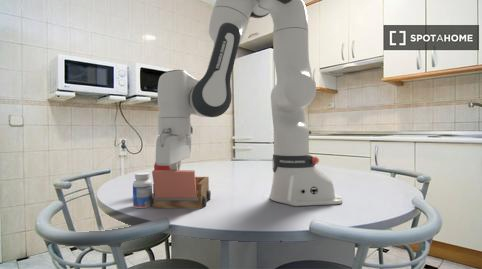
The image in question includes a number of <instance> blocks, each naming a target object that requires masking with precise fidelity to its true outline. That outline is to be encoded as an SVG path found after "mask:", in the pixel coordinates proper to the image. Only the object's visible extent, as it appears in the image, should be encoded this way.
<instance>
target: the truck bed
mask: <svg viewBox="0 0 482 269" xmlns="http://www.w3.org/2000/svg"><path fill="white" fill-rule="evenodd" d="M195 180H196V192H197V196H198V201H155V200H154V197H155V190H154V183H152V206H153V209H202V208H203V207H206V206H207V203H208V201H210V200H211V197H212V196H211V195H212V193H211V190H210V189H209V188H210V187H209V186H210V185H209V182H210V180H209V176H195Z"/></svg>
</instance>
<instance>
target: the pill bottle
mask: <svg viewBox="0 0 482 269" xmlns="http://www.w3.org/2000/svg"><path fill="white" fill-rule="evenodd" d="M150 177H151V176H150V172H148V171H147V172H136V173H135V174H134V179H135V180H134V181H133V182H132V206H133V207H134V208H135V209H146V208H150V207H151V206H153V205H152V198H153V180H151V179H150Z"/></svg>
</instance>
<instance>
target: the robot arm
mask: <svg viewBox="0 0 482 269" xmlns="http://www.w3.org/2000/svg"><path fill="white" fill-rule="evenodd" d="M214 3H215V4H214V6H213V9H212V12H211V15H210V20H209V27H208V35H209V37H210V39H211V40H212V41H213V48H212V51H211V55H210V57H209V62H208V65H207V69H206V72H205V74H204V75H203V77H202V78H201V79H198V78H196V77H194V76H193V75H191V74H189V73H188V72H187V70H184V69H172V70H168V71H165V72H164V73H162V74H161V75H160V77H159V79H158V83H157V105H158V116H157V134H158V136H157V138H156V143H155V160H156V161H155V162H156V164H157V165H158V166H169V167H170V170H181V166H182V161H184V160H186V159H189V158H190V156H191V152H192V135H193V133H194V131H193V130H194V129H193V126H192V124H191V123H192V122H191V115H194V116H198V117H201V118H217V117H219V116H222V115H223V114H225V113H226V112H227V111H228V109H229V108H230V107H231V106H230V105H231V103H232V88H231V86H232V85H231V78H232V73H233V70H234V65H235V61H236V57H237V53H238V49H239V46H240V45H241V43H242V40H243V38H244V36H245V34H246V31H247V29H248V26H249V23H250V22H249V21H250V18H252V19H253V18H254V19H262V18H264V17H267V16H268V15H270V16H271V19H272V24H273V28H272V29H273V31H272V32H273V33H272V34H273V35H272V39H273V42H272V43H273V44H272V45H273V46H272V47H273V48H272V50H273V62H274V68H275V74H276V75H275V76H276V84H275V85H274V86H273V88H272V90H271V93H270V106H271V116H272V124H273V154H272V162H271V163H272V172H273V176H272V183H271V189H270V194H269V199H270V200H271V201H274V202H277V203H281V204H286V205H290V206H292V207H293V206H294V207H301V206H302V207H303V206H322V205H324V206H325V205H339V204H340V205H341V204H342V203H343V198H342V196H341V195H340V194H339V193H337V192H335V187H334V183H333V181H332V179H331V178H330V177H329V176H327V174H325V173H324V172H323V171H321V170H320V169H319V168H317V167H316V165H317V164H319V162H320V159H319V157H316V156H312V155H311V154H310V148H309V147H310V139H309V138H310V133H309V132H310V130H309V127H308V124H307V121H306V116H305V108H307V107H308V106H309V105H310V104H311V103H312V102H313V100H314V99H315V97H316V95H317V85H316V83H315V80H314V78H313V73H312V69H311V63H310V55H309V22H308V14H307V13H308V12H307V9H306V8H307V7H306V5H305V2H304V1H303V0H216V1H215V2H214Z"/></svg>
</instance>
